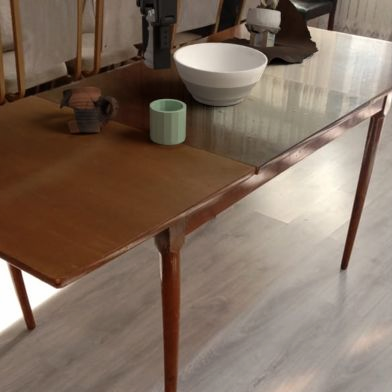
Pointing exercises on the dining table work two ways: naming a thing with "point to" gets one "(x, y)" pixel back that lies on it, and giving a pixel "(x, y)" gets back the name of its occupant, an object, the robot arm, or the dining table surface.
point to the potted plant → (277, 32)
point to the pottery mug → (88, 108)
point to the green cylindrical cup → (167, 121)
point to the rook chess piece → (149, 53)
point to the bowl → (219, 71)
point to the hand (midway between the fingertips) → (156, 63)
